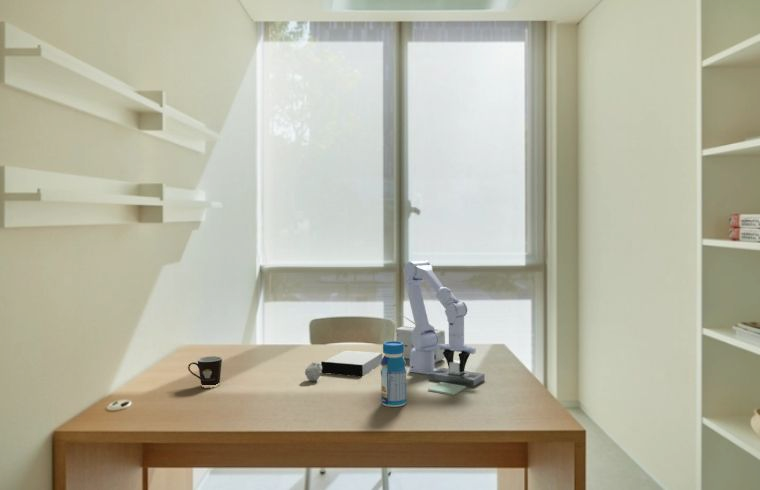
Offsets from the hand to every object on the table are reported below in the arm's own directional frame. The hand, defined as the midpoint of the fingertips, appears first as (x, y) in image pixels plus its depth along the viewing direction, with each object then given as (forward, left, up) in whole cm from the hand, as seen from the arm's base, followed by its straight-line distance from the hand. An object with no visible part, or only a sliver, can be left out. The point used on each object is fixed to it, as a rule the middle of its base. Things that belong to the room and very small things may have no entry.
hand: (456, 370), depth 209 cm
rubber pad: (+2, -12, -4) cm, 13 cm away
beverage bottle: (-6, -35, -4) cm, 36 cm away
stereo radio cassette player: (-28, +22, -4) cm, 36 cm away
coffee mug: (-76, -53, -4) cm, 93 cm away
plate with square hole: (0, 0, -4) cm, 4 cm away
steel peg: (0, 0, -4) cm, 4 cm away
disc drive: (-44, -5, -4) cm, 45 cm away
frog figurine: (-46, -28, -4) cm, 54 cm away
